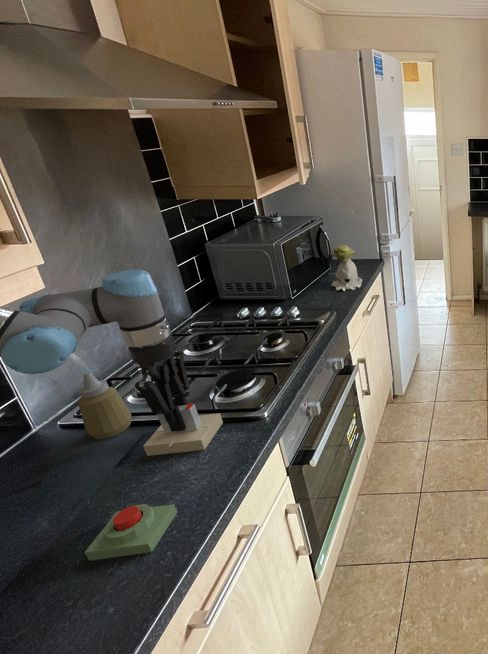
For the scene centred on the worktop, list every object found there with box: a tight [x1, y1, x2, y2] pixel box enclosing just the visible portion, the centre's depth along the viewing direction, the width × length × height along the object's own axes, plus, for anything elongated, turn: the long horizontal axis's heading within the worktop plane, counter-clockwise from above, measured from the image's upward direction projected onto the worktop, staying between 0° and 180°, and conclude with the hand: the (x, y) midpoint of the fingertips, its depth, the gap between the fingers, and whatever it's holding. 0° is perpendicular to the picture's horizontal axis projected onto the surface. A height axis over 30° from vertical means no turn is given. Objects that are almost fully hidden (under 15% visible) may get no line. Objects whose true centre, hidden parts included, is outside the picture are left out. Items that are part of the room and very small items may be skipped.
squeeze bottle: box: [77, 371, 132, 440], centre depth 97 cm, size 8×8×18 cm
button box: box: [84, 503, 178, 562], centre depth 77 cm, size 10×8×4 cm
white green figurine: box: [330, 244, 363, 292], centre depth 180 cm, size 12×13×18 cm
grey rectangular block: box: [156, 403, 201, 433], centre depth 97 cm, size 7×2×6 cm, turn 99°
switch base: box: [143, 412, 224, 457], centre depth 99 cm, size 12×11×3 cm
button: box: [113, 505, 142, 531], centre depth 76 cm, size 4×4×2 cm
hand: (182, 425), depth 98 cm, fingers open, 2 cm apart
